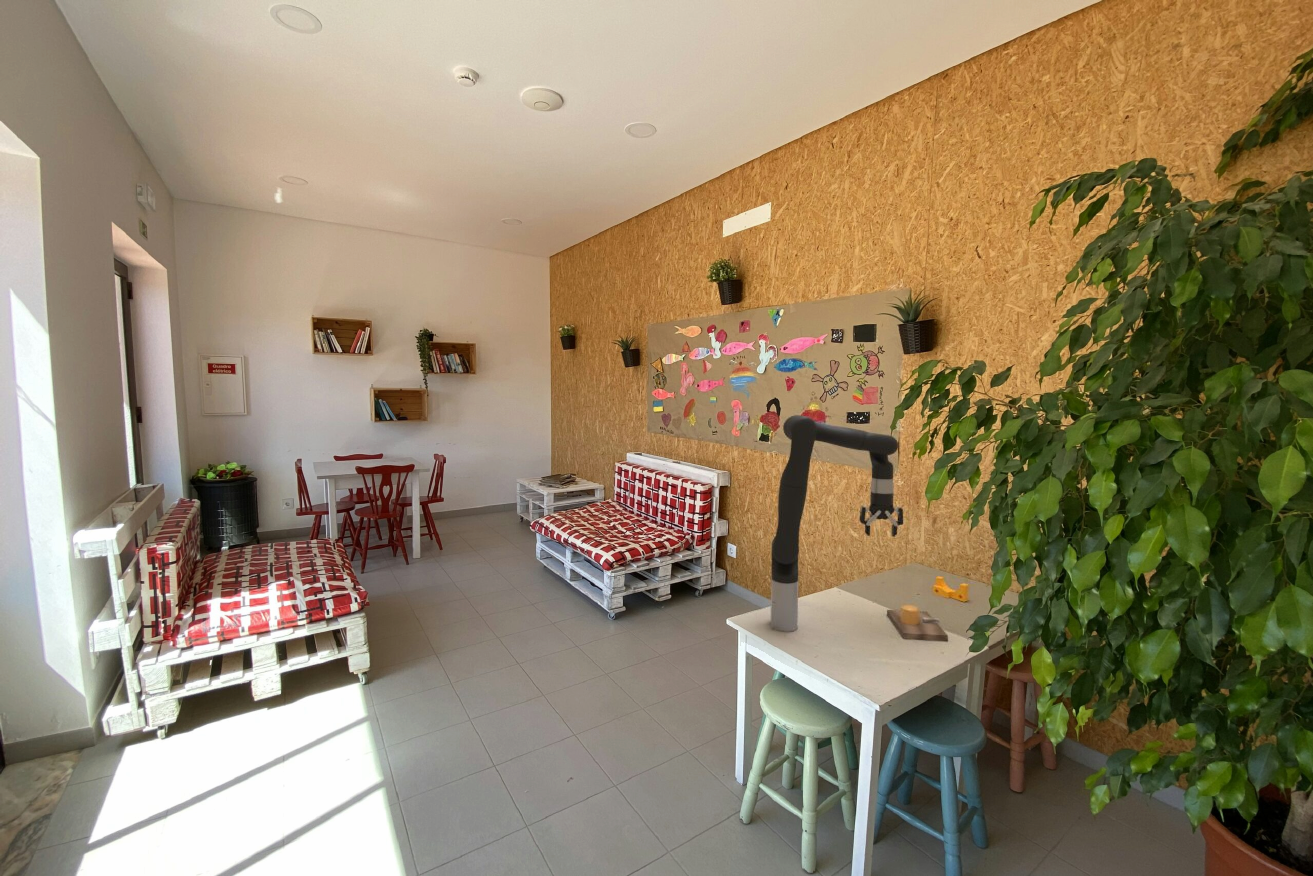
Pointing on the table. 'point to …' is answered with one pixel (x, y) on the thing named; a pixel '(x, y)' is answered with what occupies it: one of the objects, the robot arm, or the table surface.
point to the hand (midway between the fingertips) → (880, 535)
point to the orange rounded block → (909, 614)
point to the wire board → (918, 627)
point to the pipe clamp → (950, 590)
